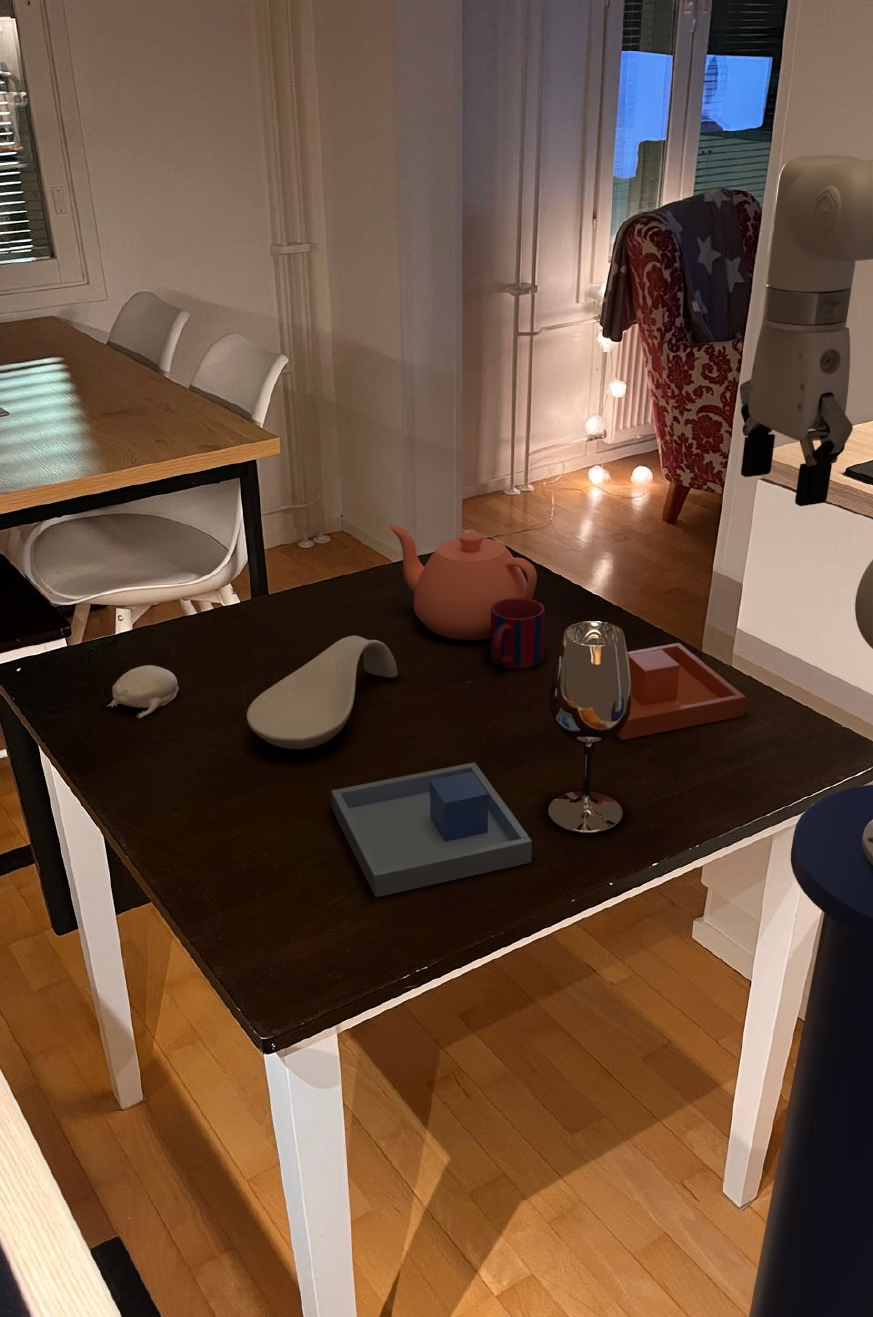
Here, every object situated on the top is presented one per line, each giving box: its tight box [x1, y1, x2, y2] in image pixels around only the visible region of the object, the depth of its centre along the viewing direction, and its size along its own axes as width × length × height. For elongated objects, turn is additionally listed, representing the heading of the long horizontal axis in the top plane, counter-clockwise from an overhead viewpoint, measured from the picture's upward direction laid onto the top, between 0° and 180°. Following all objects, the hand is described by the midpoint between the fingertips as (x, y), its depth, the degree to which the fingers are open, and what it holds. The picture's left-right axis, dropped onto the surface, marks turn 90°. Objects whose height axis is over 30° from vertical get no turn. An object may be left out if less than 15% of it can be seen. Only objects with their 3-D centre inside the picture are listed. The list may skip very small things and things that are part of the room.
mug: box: [490, 598, 546, 670], centre depth 148 cm, size 7×10×7 cm
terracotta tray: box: [615, 642, 747, 741], centre depth 140 cm, size 16×16×2 cm
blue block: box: [429, 772, 488, 841], centre depth 117 cm, size 4×4×4 cm
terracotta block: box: [628, 650, 680, 705], centre depth 140 cm, size 4×4×4 cm
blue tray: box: [330, 762, 533, 898], centre depth 117 cm, size 16×16×2 cm
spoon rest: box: [246, 635, 398, 750], centre depth 137 cm, size 24×12×7 cm, turn 152°
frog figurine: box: [106, 664, 179, 719], centre depth 143 cm, size 8×7×4 cm
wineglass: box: [547, 620, 632, 834], centre depth 115 cm, size 8×8×20 cm
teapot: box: [389, 524, 538, 641], centre depth 158 cm, size 22×16×12 cm
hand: (782, 488), depth 118 cm, fingers open, 9 cm apart
